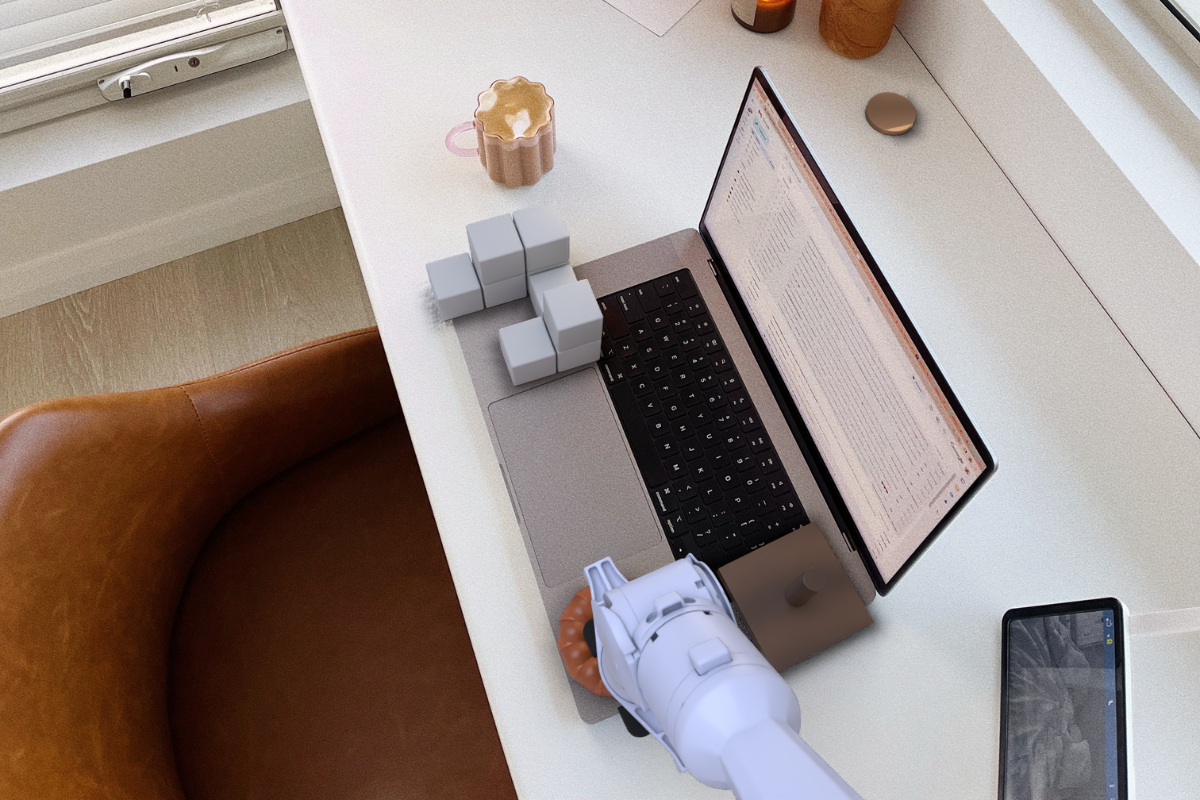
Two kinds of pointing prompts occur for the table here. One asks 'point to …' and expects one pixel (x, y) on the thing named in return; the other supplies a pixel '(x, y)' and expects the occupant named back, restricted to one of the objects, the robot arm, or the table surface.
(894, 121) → the coaster
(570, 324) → the puzzle cube
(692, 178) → the table surface
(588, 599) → the ring
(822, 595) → the peg stand
